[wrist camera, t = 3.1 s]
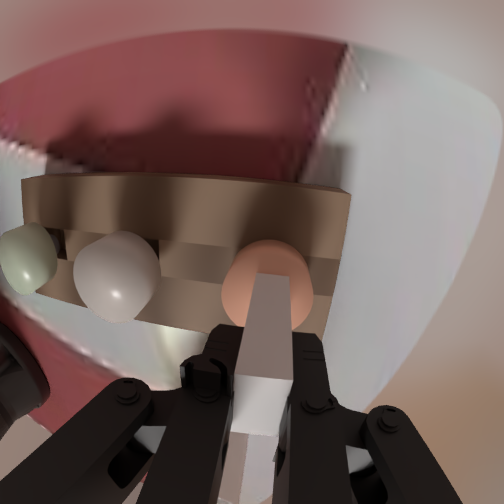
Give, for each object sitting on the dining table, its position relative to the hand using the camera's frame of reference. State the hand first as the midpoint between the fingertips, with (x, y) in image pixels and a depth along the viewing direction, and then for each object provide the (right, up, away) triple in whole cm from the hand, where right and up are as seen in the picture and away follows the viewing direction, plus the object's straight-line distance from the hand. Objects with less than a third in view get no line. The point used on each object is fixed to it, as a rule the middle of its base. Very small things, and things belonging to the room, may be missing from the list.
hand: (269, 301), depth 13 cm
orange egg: (0, +1, +4) cm, 5 cm away
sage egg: (-16, +3, +4) cm, 16 cm away
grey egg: (-8, +2, +4) cm, 9 cm away
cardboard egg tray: (-7, +3, +7) cm, 10 cm away
